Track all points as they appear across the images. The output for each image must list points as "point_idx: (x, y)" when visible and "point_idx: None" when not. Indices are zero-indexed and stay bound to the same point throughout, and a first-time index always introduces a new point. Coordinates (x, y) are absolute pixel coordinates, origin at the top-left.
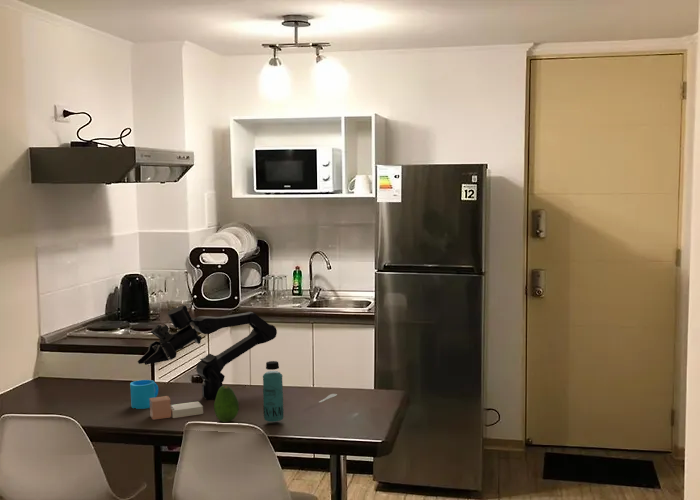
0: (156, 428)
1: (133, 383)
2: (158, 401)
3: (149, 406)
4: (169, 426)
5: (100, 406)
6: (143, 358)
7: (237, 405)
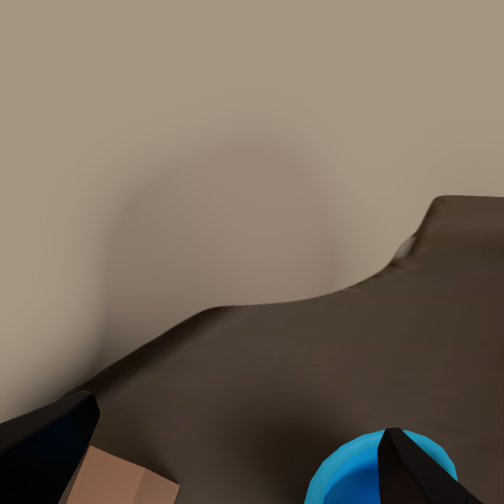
0: None
1: None
2: (82, 468)
3: None
4: None
5: (436, 358)
6: (404, 488)
7: None
